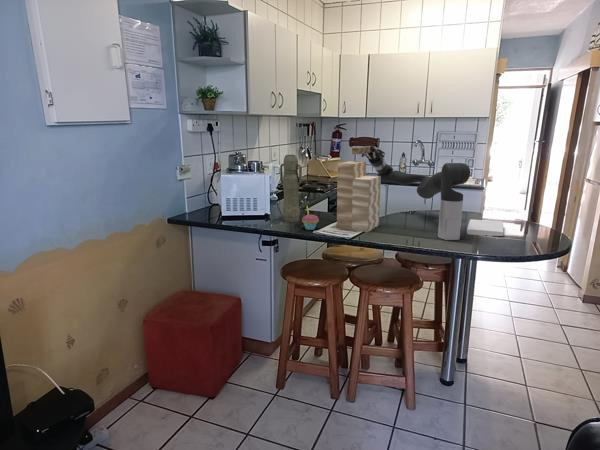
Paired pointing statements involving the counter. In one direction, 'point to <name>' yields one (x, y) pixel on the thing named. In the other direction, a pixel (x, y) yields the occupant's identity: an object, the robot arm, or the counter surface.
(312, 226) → the cupcake
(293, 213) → the thermos
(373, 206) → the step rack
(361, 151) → the walnut bar
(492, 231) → the food packaging
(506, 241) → the counter surface
